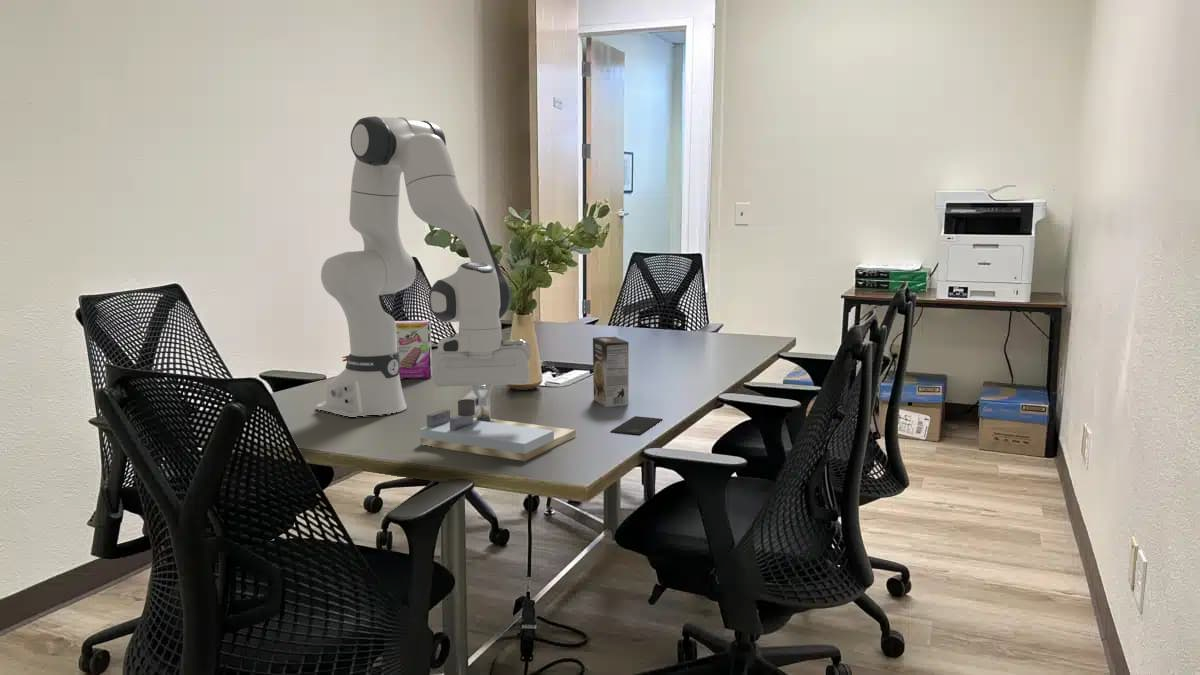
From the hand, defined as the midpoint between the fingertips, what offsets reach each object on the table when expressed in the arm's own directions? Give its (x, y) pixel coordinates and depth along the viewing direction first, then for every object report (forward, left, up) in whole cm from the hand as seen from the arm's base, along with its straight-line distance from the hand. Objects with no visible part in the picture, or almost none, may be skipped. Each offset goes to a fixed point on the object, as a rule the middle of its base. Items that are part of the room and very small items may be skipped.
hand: (483, 405), depth 187 cm
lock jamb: (+3, +2, -8) cm, 8 cm away
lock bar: (-4, +2, -6) cm, 7 cm away
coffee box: (+8, +44, -8) cm, 45 cm away
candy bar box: (-58, +47, -8) cm, 75 cm away
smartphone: (+24, +26, -8) cm, 36 cm away
